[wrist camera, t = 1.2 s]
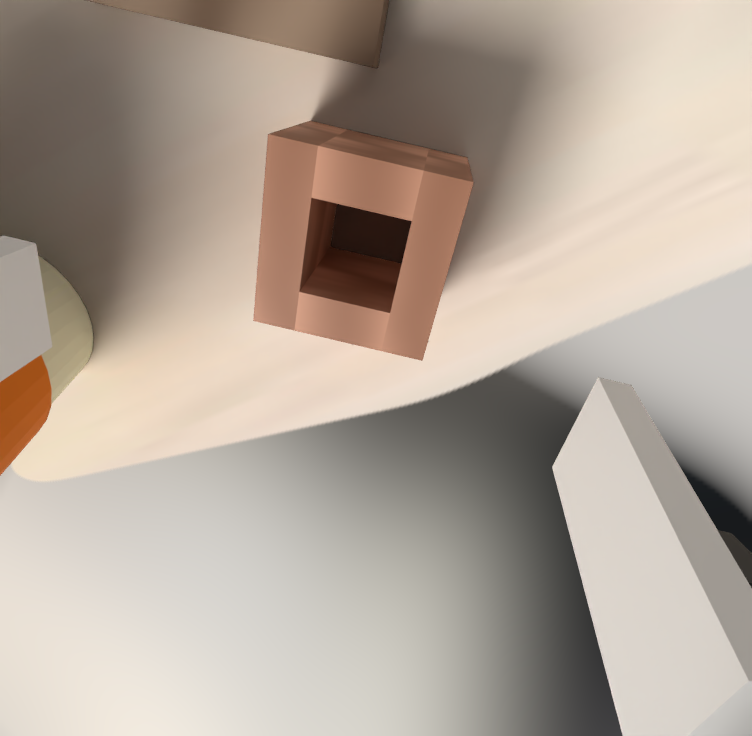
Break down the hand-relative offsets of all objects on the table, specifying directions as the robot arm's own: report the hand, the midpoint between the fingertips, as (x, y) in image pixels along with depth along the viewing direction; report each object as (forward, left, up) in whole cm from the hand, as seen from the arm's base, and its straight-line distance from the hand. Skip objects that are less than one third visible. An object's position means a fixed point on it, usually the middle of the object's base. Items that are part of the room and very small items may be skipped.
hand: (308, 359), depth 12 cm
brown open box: (0, 0, -14) cm, 14 cm away
